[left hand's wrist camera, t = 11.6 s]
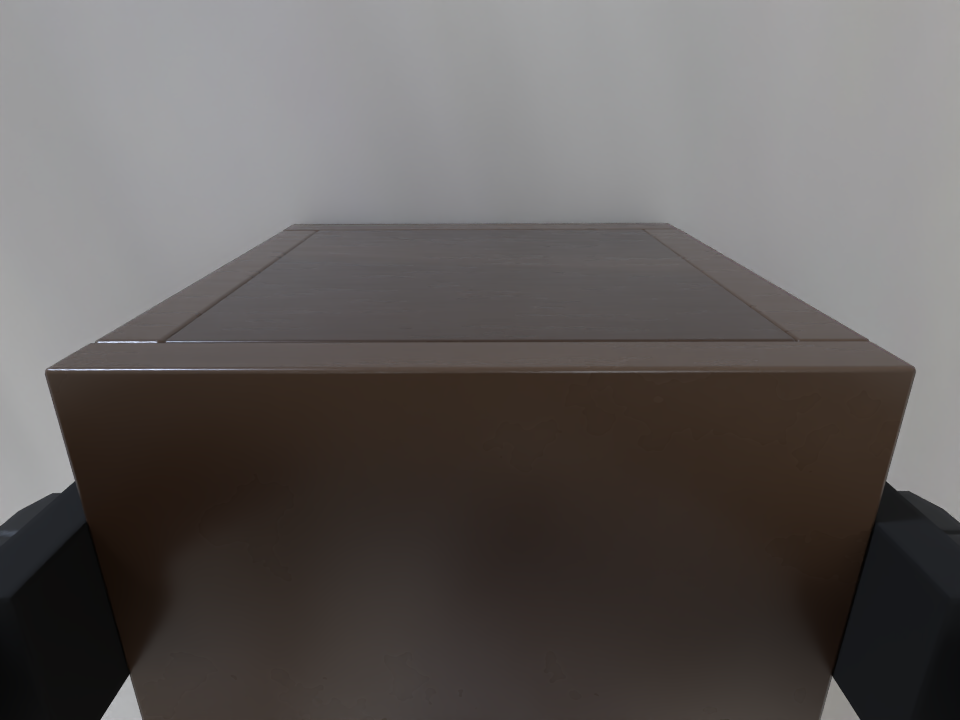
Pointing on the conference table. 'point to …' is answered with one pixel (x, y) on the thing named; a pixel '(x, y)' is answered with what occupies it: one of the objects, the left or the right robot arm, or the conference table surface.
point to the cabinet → (481, 479)
